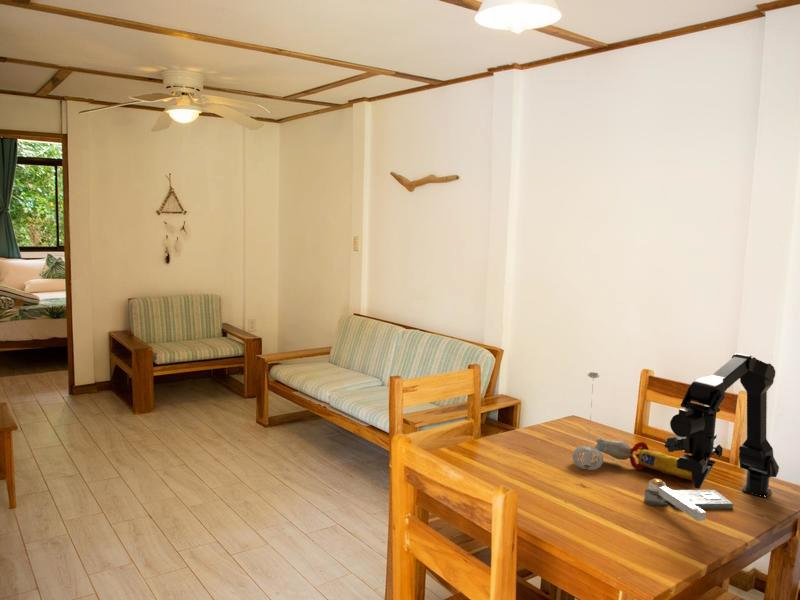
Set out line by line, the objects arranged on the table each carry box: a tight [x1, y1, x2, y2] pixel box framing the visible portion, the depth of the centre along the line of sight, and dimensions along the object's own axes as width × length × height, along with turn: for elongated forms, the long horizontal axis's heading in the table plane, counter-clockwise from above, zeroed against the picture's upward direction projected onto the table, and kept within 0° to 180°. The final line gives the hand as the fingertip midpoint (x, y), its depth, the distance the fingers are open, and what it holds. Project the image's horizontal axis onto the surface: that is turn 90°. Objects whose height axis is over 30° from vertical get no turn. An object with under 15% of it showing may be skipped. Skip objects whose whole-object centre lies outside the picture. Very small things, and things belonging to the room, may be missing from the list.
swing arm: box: [647, 478, 707, 522], centre depth 172 cm, size 20×4×3 cm, turn 14°
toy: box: [594, 437, 693, 481], centre depth 204 cm, size 9×13×30 cm
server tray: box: [668, 489, 734, 510], centre depth 181 cm, size 16×9×2 cm, turn 94°
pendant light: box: [571, 371, 604, 471], centre depth 203 cm, size 9×9×30 cm
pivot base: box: [643, 488, 669, 508], centre depth 180 cm, size 6×6×3 cm
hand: (697, 487), depth 170 cm, fingers closed
